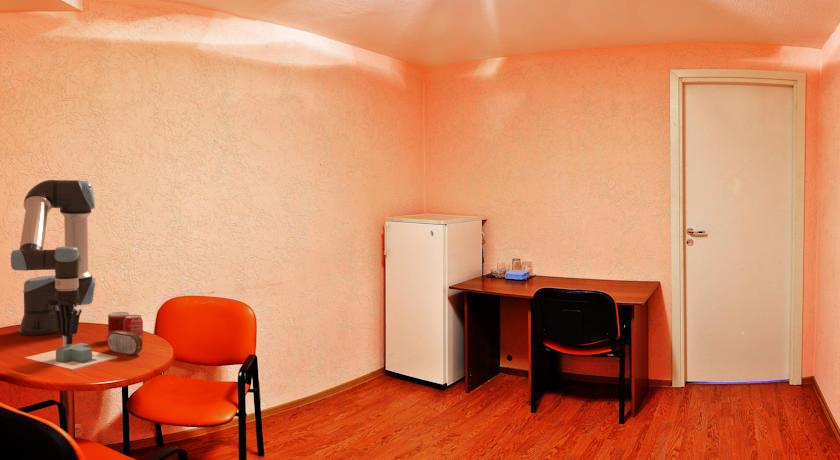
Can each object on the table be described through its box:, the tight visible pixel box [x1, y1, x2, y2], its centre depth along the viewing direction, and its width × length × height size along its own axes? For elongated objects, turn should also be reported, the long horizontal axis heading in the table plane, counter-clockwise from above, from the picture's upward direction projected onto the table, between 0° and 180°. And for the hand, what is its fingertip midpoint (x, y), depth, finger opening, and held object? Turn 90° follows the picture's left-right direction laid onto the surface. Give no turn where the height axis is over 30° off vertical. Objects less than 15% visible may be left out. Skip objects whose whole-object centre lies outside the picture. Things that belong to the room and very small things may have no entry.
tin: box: [106, 330, 143, 356], centre depth 238 cm, size 15×3×8 cm, turn 71°
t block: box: [55, 342, 93, 362], centre depth 227 cm, size 10×10×4 cm
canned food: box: [107, 311, 130, 336], centre depth 256 cm, size 8×8×11 cm
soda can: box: [123, 314, 144, 343], centre depth 248 cm, size 7×7×12 cm
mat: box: [24, 349, 118, 371], centre depth 229 cm, size 18×26×1 cm
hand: (67, 352), depth 230 cm, fingers closed
